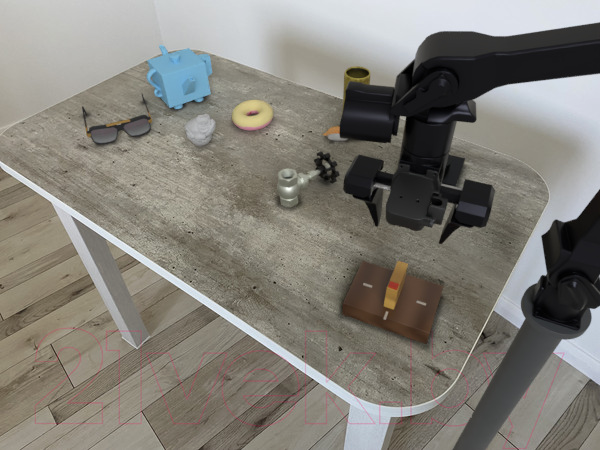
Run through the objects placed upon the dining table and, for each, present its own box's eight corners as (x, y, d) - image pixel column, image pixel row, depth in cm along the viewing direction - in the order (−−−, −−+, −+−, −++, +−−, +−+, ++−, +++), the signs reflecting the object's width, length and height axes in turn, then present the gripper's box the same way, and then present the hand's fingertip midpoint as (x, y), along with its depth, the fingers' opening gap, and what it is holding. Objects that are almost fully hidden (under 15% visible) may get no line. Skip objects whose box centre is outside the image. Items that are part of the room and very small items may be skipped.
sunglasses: (144, 101, 118) (139, 83, 115) (156, 134, 108) (150, 115, 105) (85, 114, 115) (78, 96, 111) (92, 150, 105) (84, 130, 101)
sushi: (352, 142, 105) (353, 130, 102) (322, 142, 105) (322, 130, 103) (351, 135, 106) (352, 123, 104) (322, 135, 107) (322, 123, 105)
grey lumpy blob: (216, 152, 103) (211, 125, 98) (184, 151, 104) (177, 124, 99) (221, 136, 107) (217, 108, 102) (191, 135, 108) (185, 107, 103)
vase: (345, 121, 110) (348, 62, 100) (371, 127, 108) (377, 68, 98) (335, 135, 106) (337, 76, 96) (361, 142, 104) (366, 82, 94)
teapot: (168, 123, 111) (156, 79, 103) (140, 90, 122) (128, 47, 114) (229, 102, 117) (222, 58, 109) (198, 72, 128) (190, 30, 120)
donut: (277, 121, 115) (242, 109, 116) (280, 103, 112) (244, 91, 113) (261, 139, 107) (223, 126, 108) (264, 120, 104) (225, 107, 106)
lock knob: (394, 279, 74) (397, 259, 71) (404, 282, 74) (408, 262, 71) (383, 306, 71) (386, 286, 68) (393, 310, 71) (397, 290, 67)
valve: (291, 215, 89) (339, 187, 94) (289, 188, 84) (340, 160, 90) (270, 196, 93) (317, 171, 98) (267, 170, 88) (317, 144, 93)
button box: (463, 166, 98) (467, 150, 95) (453, 194, 92) (458, 178, 89) (409, 154, 101) (412, 138, 98) (397, 179, 96) (400, 163, 93)
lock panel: (440, 295, 76) (444, 283, 74) (425, 346, 70) (429, 334, 67) (362, 270, 80) (363, 258, 77) (341, 316, 74) (342, 304, 71)
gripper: (330, 165, 56) (327, 254, 67) (498, 206, 50) (465, 295, 61) (359, 115, 63) (353, 203, 74) (510, 146, 57) (478, 236, 68)
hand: (408, 233), depth 69 cm, fingers open, 9 cm apart
